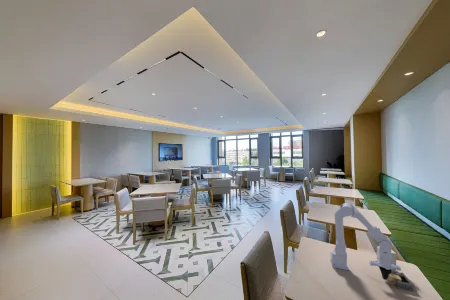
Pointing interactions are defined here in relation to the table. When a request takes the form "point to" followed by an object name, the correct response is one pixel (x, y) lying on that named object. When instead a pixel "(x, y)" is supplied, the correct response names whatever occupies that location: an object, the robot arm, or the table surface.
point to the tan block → (393, 279)
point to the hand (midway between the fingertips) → (384, 278)
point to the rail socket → (406, 283)
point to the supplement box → (393, 258)
